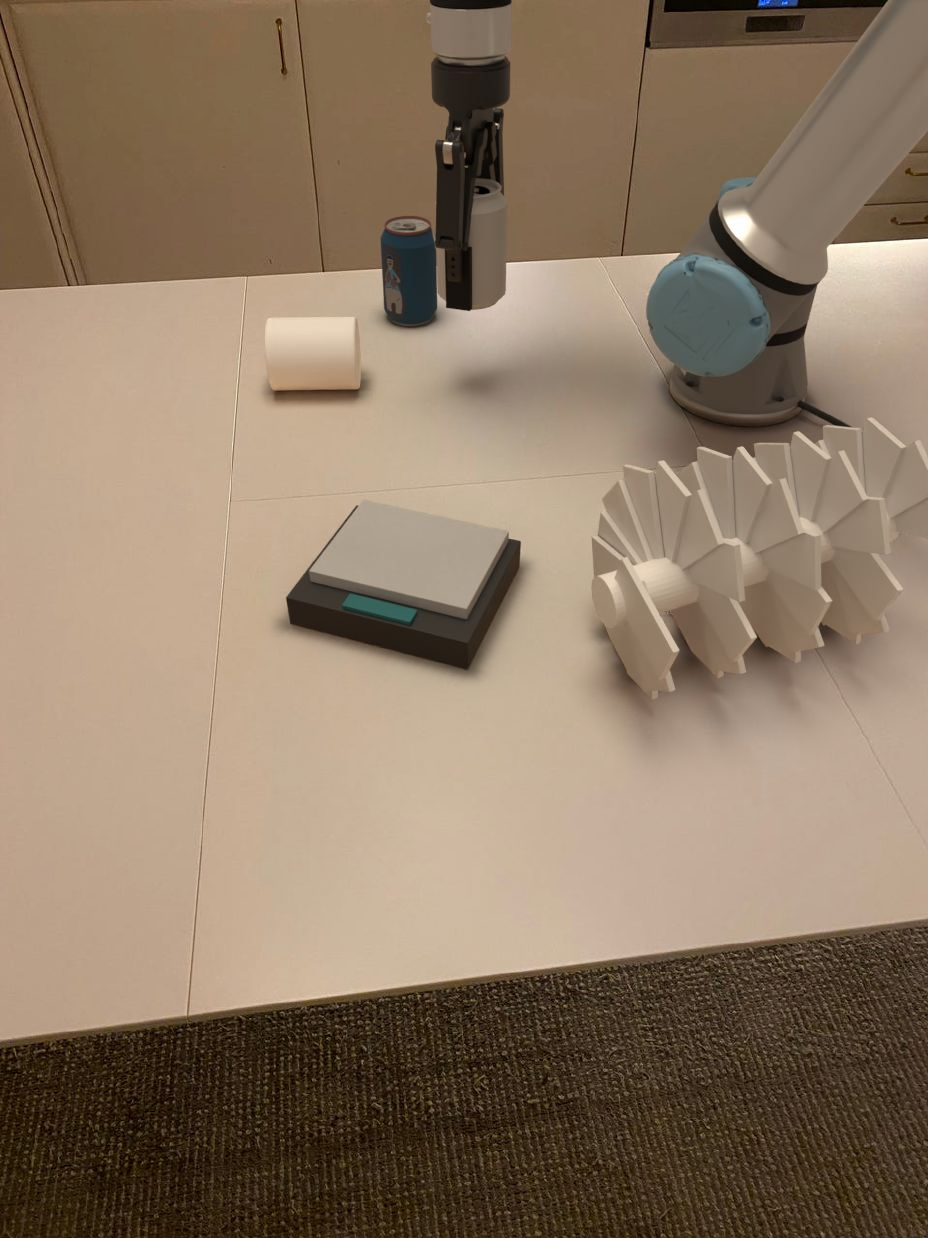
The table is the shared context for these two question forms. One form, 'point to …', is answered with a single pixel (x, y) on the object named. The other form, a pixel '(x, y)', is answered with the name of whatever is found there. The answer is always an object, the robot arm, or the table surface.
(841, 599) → the spiral staircase
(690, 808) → the table surface
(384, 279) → the soda can
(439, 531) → the scale
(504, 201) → the can
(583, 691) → the table surface
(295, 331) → the white coffee cup
